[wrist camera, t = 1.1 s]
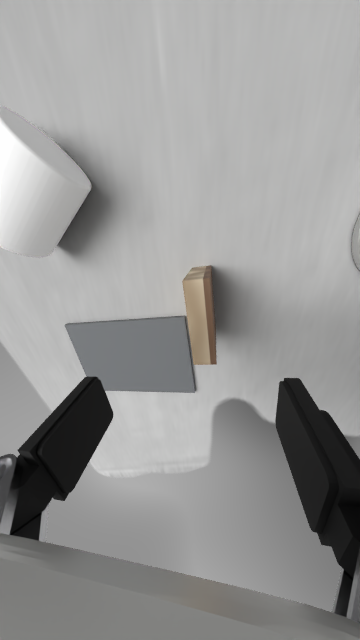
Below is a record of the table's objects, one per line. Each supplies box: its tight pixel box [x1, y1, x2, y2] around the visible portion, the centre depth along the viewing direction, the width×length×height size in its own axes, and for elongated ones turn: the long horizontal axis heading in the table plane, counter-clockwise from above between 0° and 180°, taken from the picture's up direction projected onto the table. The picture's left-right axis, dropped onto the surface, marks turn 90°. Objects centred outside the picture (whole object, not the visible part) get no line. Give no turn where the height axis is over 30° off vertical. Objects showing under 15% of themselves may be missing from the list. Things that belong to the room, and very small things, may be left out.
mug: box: [0, 105, 91, 258], centre depth 19 cm, size 12×10×8 cm
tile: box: [182, 266, 216, 365], centre depth 21 cm, size 2×9×8 cm, turn 8°
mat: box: [65, 316, 195, 393], centre depth 30 cm, size 20×14×1 cm
